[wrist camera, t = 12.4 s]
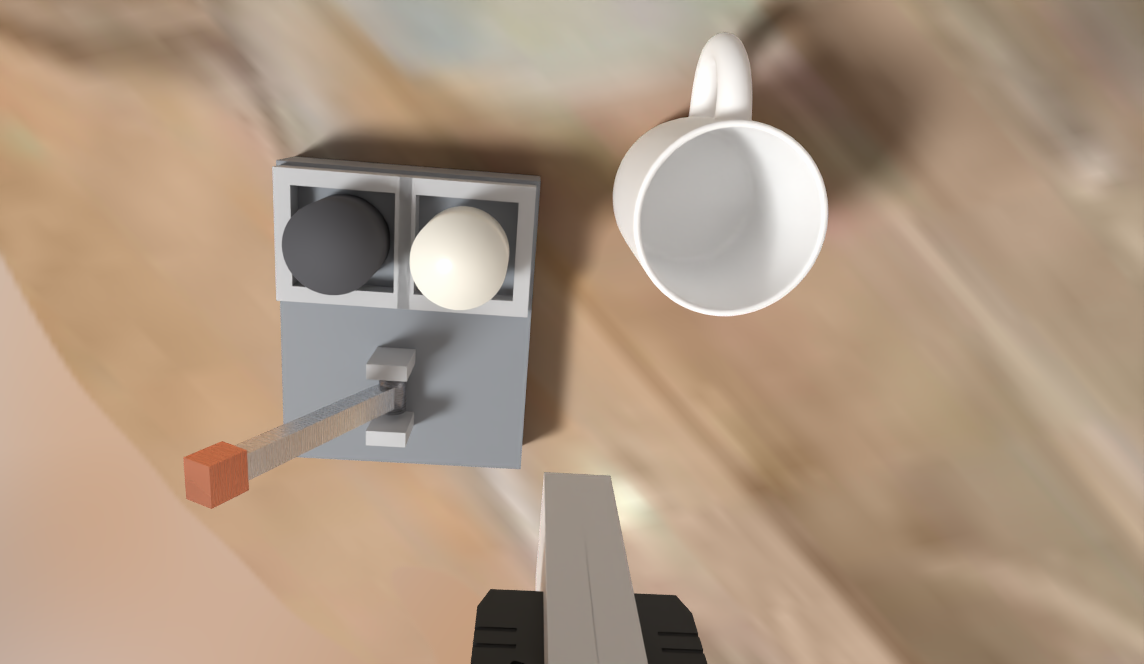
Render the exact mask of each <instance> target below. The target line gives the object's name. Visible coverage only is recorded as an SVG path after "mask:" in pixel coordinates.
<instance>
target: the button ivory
mask: <svg viewBox="0 0 1144 664" xmlns="http://www.w3.org/2000/svg"><path fill="white" fill-rule="evenodd" d="M409 260H410V270H411V274H412V277H413V280H414V282H415V284H416V286H417V287H418V289H419V290H420V291H421V292H422V294H423V295H424V296H425V297H426V298H428V299H429V300H430V301H432V302H433V303H435V304H437V305H439V306H441V307H444V308H447V309H452V310H468V309H473V308H476V307H479V306H481V305H483V304H485V303H486V302H488V301H489V300H490V299H492V298H493V297H494V296H495V295H496V293H497V292H498V291H499V289H500V288H501V286H502V284H503V282H504V279H505V276H506V272H507V266H508V261H509V243H508V239H507V236H506V234H505V232H504V230H503V228H502V226H501V225H500V224H499V223H498V221H497V220H496V219H495V218H493V217H492V216H491V215H490V214H488V213H486V212H485V211H483V210H480V209H478V208H474V207H468V206H458V207H452V208H448V209H446V210H444V211H442V212H440V213H438V214H437V215H436V216H434V217H433V218H432V219H431V220H430V221H429V222H428V223H427V224H426V226H425V227H424V228H423V229H422V230H421V231H420V232H419V234H418V235H417V236H416V238H415V240H414V242H413V245H412V247H411V252H410V259H409Z"/></svg>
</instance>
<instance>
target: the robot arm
mask: <svg viewBox="0 0 1144 664" xmlns="http://www.w3.org/2000/svg"><path fill="white" fill-rule="evenodd" d="M471 664H707V661H706V658H705V655H704V654H703V648H702V645H701V641H700V638H699V637H698V632H697V628H696V625H695V622H694V619H693V615H692V613H691V612H690V611H689V610H688V608H687V607H686V606H685V605H684V604H683V603H682V602H681V601H680V599H679V598H678V597H677V596H676V595H656V594H634V592H633V587H632V582H631V577H630V572H629V567H628V562H627V557H626V552H625V547H624V542H623V536H622V531H621V526H620V521H619V516H618V511H617V506H616V501H615V496H614V491H613V486H612V481H611V476H606V475H588V474H569V473H550V472H544V481H543V493H542V506H541V518H540V531H539V544H538V556H537V569H536V591H520V590H497V589H490V591H489V592H488V593H487V595H486V596H485V597H484V598H483V600H482V601H481V602H480V604H479V605H478V607H477V615H476V623H475V632H474V640H473V648H472V657H471Z"/></svg>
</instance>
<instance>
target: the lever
mask: <svg viewBox="0 0 1144 664" xmlns="http://www.w3.org/2000/svg"><path fill="white" fill-rule="evenodd" d="M405 411H406V382H403V381H387V380H379V384H376V385H374V386H372V387H369V388H367V389H365V390H362V391H360V392H358V393H355V394H353V395H351V396H349V397H346V398H344V399H342V400H339V401H337V402H335V403H332V404H330V405H328V406H325V407H323V408H321V409H318V410H316V411H314V412H311V413H309V414H307V415H304V416H302V417H300V418H297V419H295V420H293V421H290V422H288V423H286V424H283V425H281V426H279V427H277V428H274V429H272V430H270V431H267V432H265V433H263V434H260V435H258V436H256V437H253V438H251V439H249V440H246V441H244V442H242V443H239V444H237V445H235V446H234V445H231V444H228V443H225V442H223V441H222V442H219V443H217V444H215V445H212V446H210V447H207V448H205V449H203V450H200V451H198V452H195V453H193V454H191V455H188V456H186V457H184V472H185V486H186V499H188V500H191V501H193V502H196V503H198V504H201V505H203V506H206V507H208V508H211V509H212V508H214V507H216V506H218V505H220V504H222V503H224V502H226V501H228V500H230V499H232V498H234V497H236V496H238V495H240V494H242V493H244V492H246V491H248V490H249V483H248V480H250V479H252V478H254V477H257V476H259V475H261V474H263V473H265V472H267V471H269V470H271V469H273V468H275V467H277V466H279V465H281V464H283V463H285V462H287V461H289V460H291V459H293V458H295V457H297V456H299V455H301V454H304V453H306V452H308V451H310V450H312V449H314V448H316V447H318V446H320V445H322V444H324V443H326V442H328V441H330V440H332V439H334V438H336V437H338V436H340V435H342V434H344V433H346V432H348V431H351V430H353V429H355V428H357V427H359V426H361V425H363V424H365V423H367V422H369V421H371V420H373V419H375V418H377V417H379V416H381V415H383V414H384V415H400V414H403V413H404V412H405Z"/></svg>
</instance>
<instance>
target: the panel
mask: <svg viewBox="0 0 1144 664" xmlns="http://www.w3.org/2000/svg"><path fill="white" fill-rule="evenodd" d="M272 168H273V202H274V237H275V271H276V301H280V310H281V347H282V383H283V419H284V424H286V423H288V422H290V421H293V420H295V419H297V418H300V417H302V416H304V415H307V414H309V413H311V412H314V411H316V410H318V409H321V408H323V407H325V406H328V405H330V404H332V403H335V402H337V401H339V400H342V399H344V398H346V397H349V396H351V395H353V394H355V393H358V392H360V391H362V390H365V389H367V388H369V387H372V386H374V385H376V384H379V380H387V381H403V382H406V411H405V412H404V413H403V414H400V415H384V414H383V415H381V416H379V417H377V418H375V419H373V420H371V421H369V422H367V423H365V424H363V425H361V426H359V427H357V428H355V429H353V430H351V431H348V432H346V433H344V434H342V435H340V436H338V437H336V438H334V439H332V440H330V441H328V442H326V443H324V444H322V445H320V446H318V447H316V448H314V449H312V450H310V451H308V452H306V453H304V454H301V455H299V456H297V457H304V458H323V459H341V460H360V461H378V462H397V463H415V464H434V465H452V466H471V467H489V468H508V469H520V468H521V454H522V440H523V425H524V411H525V397H526V382H527V368H528V354H529V339H530V325H531V311H532V296H533V282H534V268H535V253H536V239H537V225H538V210H539V196H540V182H541V181H540V176H533V175H521V174H508V173H496V172H484V171H471V170H459V169H446V168H434V167H421V166H409V165H396V164H384V163H371V162H359V161H346V160H334V159H321V158H309V157H296V156H295V157H290V158H285V159H280V160H276V166H273V167H272ZM334 194H350V195H355V196H358V197H360V198H363V199H365V200H366V201H368V202H370V203H371V204H372V205H374V206H375V207H376V208H377V209H378V210H379V212H380V213H381V214H382V215H383V217H384V219H385V221H386V223H387V225H388V228H389V232H390V250H389V253H388V256H387V258H386V260H385V262H384V264H383V265H382V266H381V268H380V269H379V270H378V271H377V272H376V273H375V274H374V275H373V276H372V277H371V278H370V279H369V280H368V281H367V282H366V283H365V284H364V285H363V286H361V287H360V288H358V289H357V290H355V291H353V292H350V293H347V294H343V295H325V294H321V293H317V292H315V291H312V290H310V289H309V288H307V287H305V286H304V285H302V284H301V283H300V282H299V281H298V280H297V279H296V278H295V277H294V276H293V275H292V273H291V272H290V270H289V269H288V267H287V265H286V263H285V260H284V257H283V253H282V237H283V232H284V229H285V227H286V225H287V223H288V221H289V220H290V218H291V217H292V216H293V215H294V214H295V213H296V212H297V211H298V210H299V209H301V208H303V207H304V206H306V205H309V204H311V203H313V202H316V201H318V200H320V199H322V198H325V197H327V196H330V195H334ZM458 206H468V207H474V208H478V209H480V210H483V211H485V212H486V213H488V214H490V215H491V216H492V217H493V218H495V219H496V220H497V221H498V223H499V224H500V225H501V226H502V228H503V230H504V232H505V234H506V236H507V239H508V243H509V261H508V266H507V272H506V276H505V279H504V282H503V284H502V286H501V288H500V289H499V291H498V292H497V293H496V295H495V296H494V297H493V298H492V299H490V300H489V301H488V302H486V303H485V304H483V305H481V306H479V307H476V308H473V309H468V310H452V309H447V308H444V307H441V306H439V305H437V304H435V303H433V302H432V301H430V300H429V299H428V298H426V297H425V296H424V295H423V294H422V292H421V291H420V290H419V289H418V287H417V286H416V284H415V282H414V280H413V277H412V274H411V270H410V260H409V259H410V252H411V247H412V245H413V242H414V240H415V238H416V236H417V235H418V234H419V232H420V231H421V230H422V229H423V228H424V227H425V226H426V224H427V223H428V222H429V221H430V220H431V219H432V218H433V217H434V216H436V215H437V214H438V213H440V212H442V211H444V210H446V209H448V208H452V207H458Z"/></svg>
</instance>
